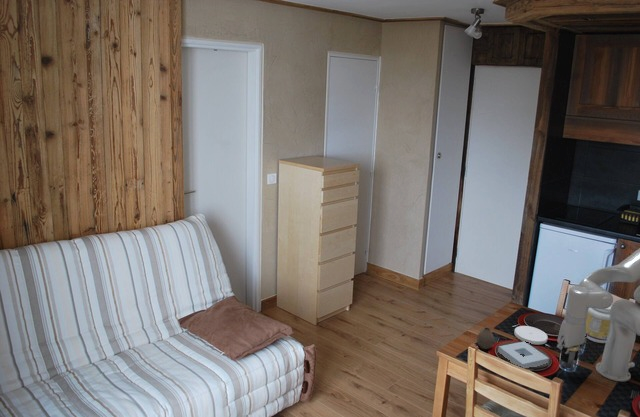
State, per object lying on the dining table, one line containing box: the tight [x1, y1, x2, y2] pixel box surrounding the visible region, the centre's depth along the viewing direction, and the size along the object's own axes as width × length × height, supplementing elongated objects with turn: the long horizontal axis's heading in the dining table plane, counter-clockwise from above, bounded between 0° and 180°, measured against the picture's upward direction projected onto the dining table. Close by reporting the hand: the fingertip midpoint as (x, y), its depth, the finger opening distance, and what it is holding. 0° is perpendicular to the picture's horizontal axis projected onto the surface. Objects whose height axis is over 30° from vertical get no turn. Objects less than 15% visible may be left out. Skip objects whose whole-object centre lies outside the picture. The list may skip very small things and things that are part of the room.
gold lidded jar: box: [561, 345, 580, 369], centre depth 212 cm, size 6×6×9 cm
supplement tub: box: [586, 305, 612, 344], centre depth 245 cm, size 12×12×17 cm
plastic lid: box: [513, 325, 549, 346], centre depth 242 cm, size 14×14×2 cm
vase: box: [476, 327, 495, 350], centre depth 231 cm, size 7×7×9 cm
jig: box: [497, 341, 550, 368], centre depth 223 cm, size 14×14×4 cm
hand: (568, 359), depth 212 cm, fingers closed on gold lidded jar, 4 cm apart
